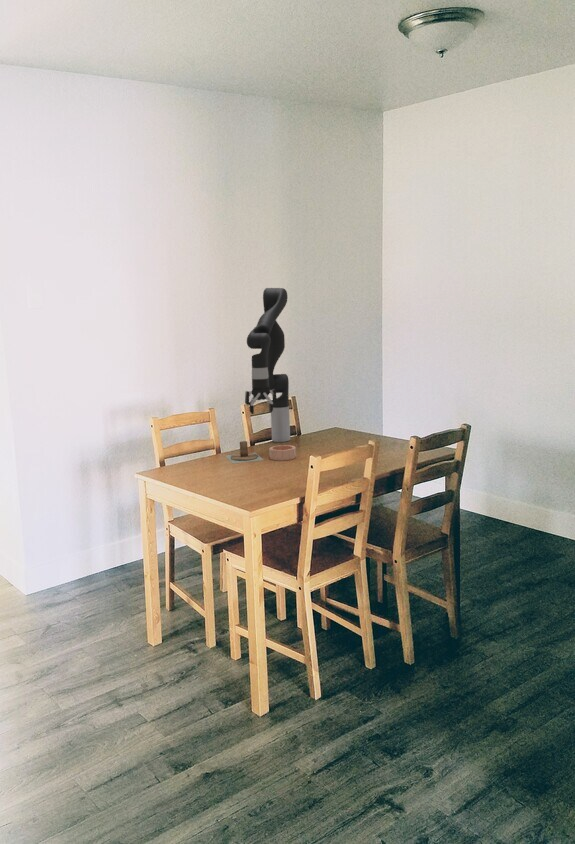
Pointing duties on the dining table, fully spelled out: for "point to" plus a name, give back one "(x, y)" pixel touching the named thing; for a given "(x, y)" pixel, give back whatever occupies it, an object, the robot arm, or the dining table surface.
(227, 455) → the mat
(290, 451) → the bowl
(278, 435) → the robot arm
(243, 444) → the lid
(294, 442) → the dining table surface
